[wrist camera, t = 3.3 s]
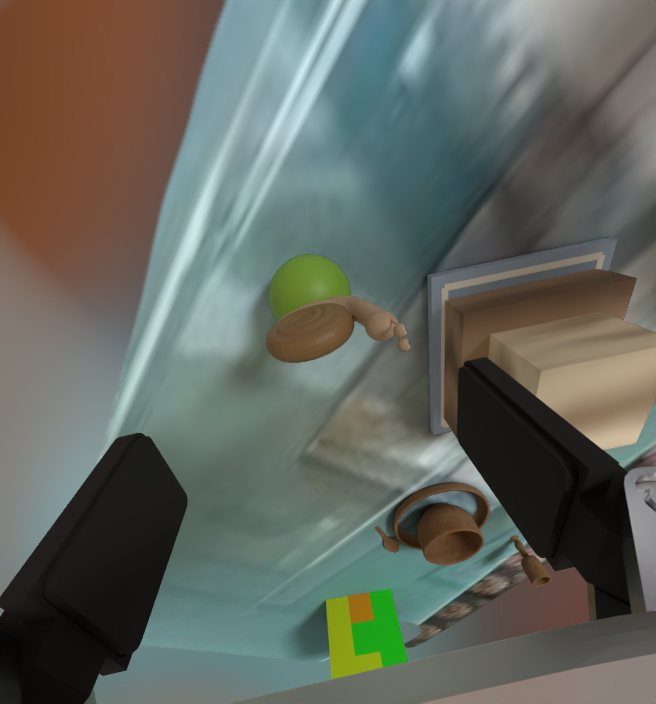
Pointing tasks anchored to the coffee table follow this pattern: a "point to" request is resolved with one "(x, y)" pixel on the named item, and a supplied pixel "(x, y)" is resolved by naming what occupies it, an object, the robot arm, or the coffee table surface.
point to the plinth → (522, 313)
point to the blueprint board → (493, 278)
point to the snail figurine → (320, 311)
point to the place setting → (454, 532)
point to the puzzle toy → (363, 633)
